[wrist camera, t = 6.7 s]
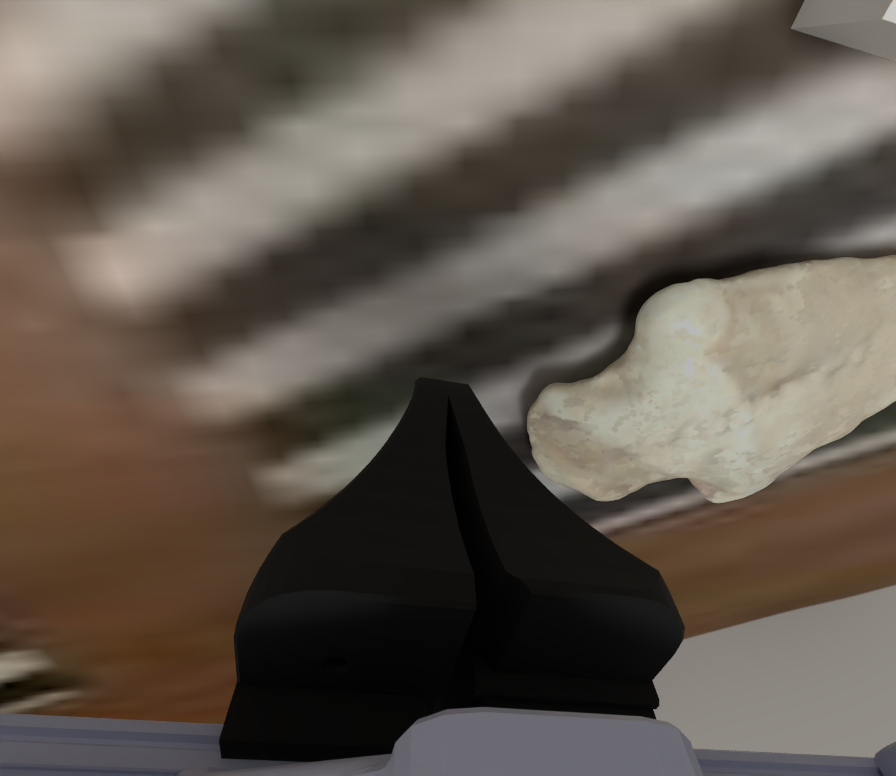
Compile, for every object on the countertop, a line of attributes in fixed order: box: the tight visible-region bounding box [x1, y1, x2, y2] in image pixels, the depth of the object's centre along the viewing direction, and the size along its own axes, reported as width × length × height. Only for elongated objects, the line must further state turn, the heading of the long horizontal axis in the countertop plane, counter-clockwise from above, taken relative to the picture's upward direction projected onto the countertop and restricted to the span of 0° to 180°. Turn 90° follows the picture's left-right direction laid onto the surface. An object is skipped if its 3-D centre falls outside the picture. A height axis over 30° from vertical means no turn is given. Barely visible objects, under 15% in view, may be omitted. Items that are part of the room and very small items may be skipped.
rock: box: [527, 255, 896, 503], centre depth 22 cm, size 4×13×20 cm
